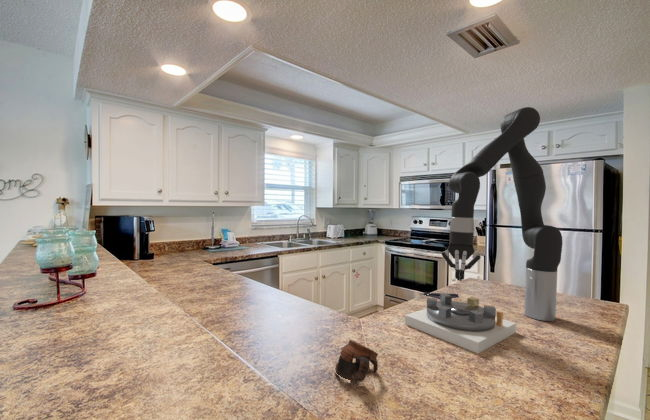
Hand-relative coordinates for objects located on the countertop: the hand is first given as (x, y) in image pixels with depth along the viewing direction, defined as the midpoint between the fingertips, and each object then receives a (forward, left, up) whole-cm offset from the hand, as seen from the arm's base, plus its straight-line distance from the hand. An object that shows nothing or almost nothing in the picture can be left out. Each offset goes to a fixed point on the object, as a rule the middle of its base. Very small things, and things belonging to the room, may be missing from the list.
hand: (459, 280), depth 106 cm
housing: (+7, +4, -14) cm, 16 cm away
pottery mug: (+53, +6, -14) cm, 55 cm away
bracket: (-16, -15, -15) cm, 26 cm away
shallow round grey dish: (+7, +4, -11) cm, 14 cm away
